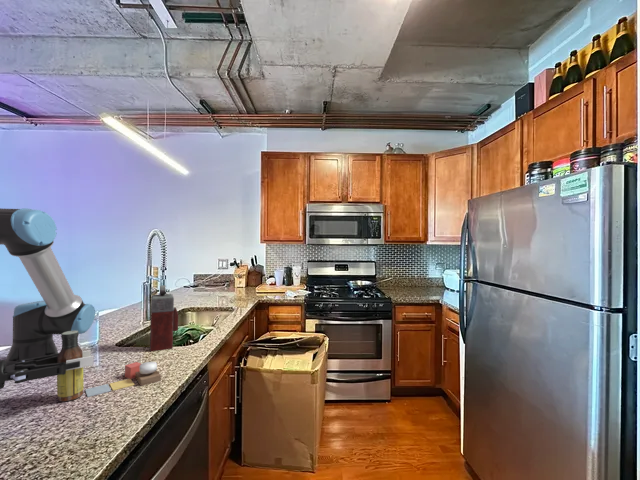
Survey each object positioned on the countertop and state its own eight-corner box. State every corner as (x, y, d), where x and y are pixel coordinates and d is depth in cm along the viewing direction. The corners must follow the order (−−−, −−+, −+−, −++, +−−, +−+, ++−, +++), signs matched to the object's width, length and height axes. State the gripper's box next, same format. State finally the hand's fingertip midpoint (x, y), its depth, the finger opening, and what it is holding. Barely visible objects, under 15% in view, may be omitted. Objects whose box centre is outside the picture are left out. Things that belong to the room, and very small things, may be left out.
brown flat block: (135, 378, 108) (135, 372, 108) (154, 373, 112) (154, 367, 112) (141, 386, 102) (141, 379, 102) (160, 380, 106) (160, 375, 106)
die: (124, 376, 109) (125, 365, 109) (136, 372, 112) (136, 361, 113) (130, 379, 107) (130, 367, 107) (142, 375, 110) (142, 364, 110)
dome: (137, 370, 107) (137, 364, 107) (154, 366, 111) (154, 360, 111) (141, 375, 103) (141, 368, 103) (158, 371, 107) (158, 364, 107)
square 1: (85, 390, 98) (85, 389, 98) (107, 384, 102) (107, 384, 102) (87, 397, 94) (87, 396, 94) (111, 391, 98) (111, 390, 98)
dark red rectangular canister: (178, 347, 140) (179, 285, 140) (149, 351, 134) (151, 287, 135) (176, 342, 148) (178, 283, 148) (149, 345, 142) (151, 284, 143)
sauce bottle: (80, 390, 98) (82, 327, 98) (86, 397, 94) (88, 331, 94) (53, 398, 93) (55, 332, 93) (58, 405, 89) (60, 336, 89)
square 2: (109, 384, 103) (109, 383, 103) (130, 379, 107) (130, 378, 107) (112, 390, 98) (112, 390, 98) (134, 385, 102) (134, 384, 102)
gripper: (-13, 379, 89) (87, 360, 104) (-22, 406, 74) (95, 379, 90) (-12, 353, 89) (88, 338, 104) (-21, 374, 75) (96, 353, 90)
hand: (91, 357), depth 97 cm, fingers closed on sauce bottle, 6 cm apart
